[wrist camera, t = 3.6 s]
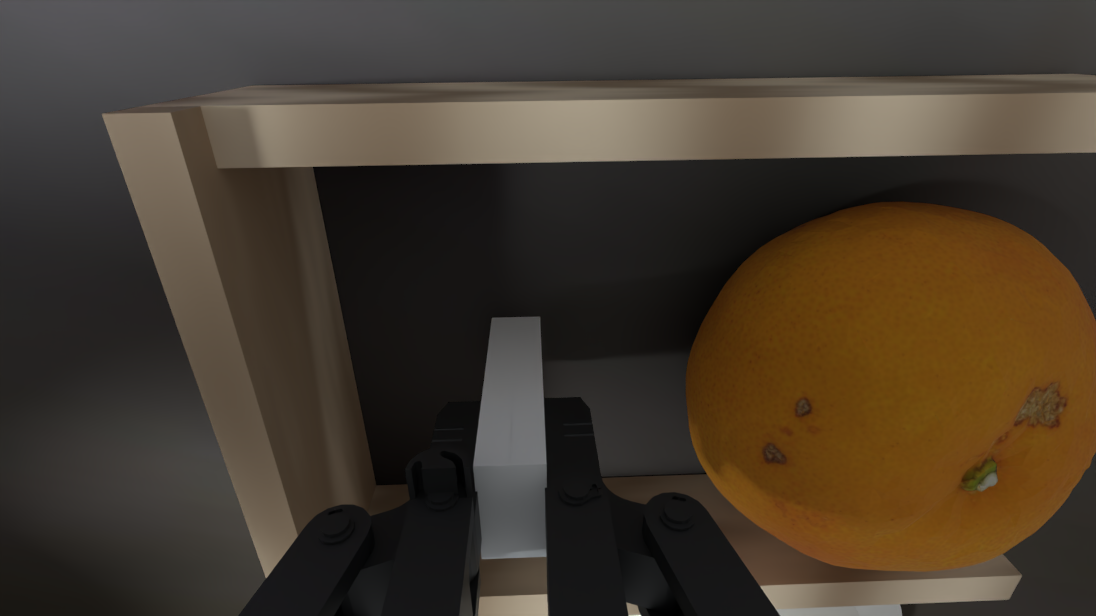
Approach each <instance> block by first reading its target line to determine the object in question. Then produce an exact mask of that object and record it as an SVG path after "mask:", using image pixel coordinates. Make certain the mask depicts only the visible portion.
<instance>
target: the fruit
mask: <svg viewBox="0 0 1096 616" xmlns="http://www.w3.org/2000/svg"><path fill="white" fill-rule="evenodd" d="M686 401H687V410H688V419H689V430H690V434H691V439H692V444H693V447H694V449H695V452H696V454H697V457H698V459H699V462H700V463H701V465H702V467H703V468H704V470H705V471H706V473H707V475H708V476H709V478H710V479H711V481H712V482H713V484H714V485H715V487H716V488H717V489H718V490H719V491H720V493H721V494H722V495H723V496H724V497H725V498H726V499H727V500H728V501H729V502H730V503H731V504H732V505H733V506H734V507H735V508H736V509H738V510H739V511H740V512H741V513H742V514H743V515H744V516H746V517H747V518H748V519H750V520H751V521H752V522H753V523H755V524H756V525H757V526H759V527H760V528H762V529H764V530H765V531H767V532H768V533H770V534H772V535H773V536H775V537H776V538H778V539H779V540H781V541H783V542H784V543H786V544H788V545H789V546H791V547H793V548H794V549H796V550H798V551H799V552H801V553H803V554H805V555H808V556H810V557H812V558H815V559H817V560H820V561H822V562H825V563H828V564H831V565H834V566H840V567H846V568H853V569H867V570H882V571H915V572H927V571H940V570H949V569H956V568H962V567H967V566H972V565H976V564H979V563H983V562H986V561H988V560H991V559H993V558H995V557H997V556H999V555H1001V554H1003V553H1005V552H1007V551H1008V550H1009V549H1011V548H1012V547H1014V546H1015V545H1017V544H1018V543H1020V542H1021V541H1023V540H1024V539H1026V538H1027V537H1029V536H1030V535H1032V534H1033V533H1035V532H1036V531H1037V530H1038V529H1039V528H1040V527H1042V526H1043V525H1044V524H1045V523H1046V522H1047V521H1048V520H1049V519H1050V518H1051V517H1052V516H1053V515H1054V513H1055V512H1056V511H1057V510H1058V509H1059V508H1060V507H1061V506H1062V504H1063V503H1064V502H1065V501H1066V499H1067V498H1068V497H1069V495H1070V493H1071V491H1072V490H1073V488H1074V487H1075V486H1076V485H1077V483H1078V482H1079V481H1080V480H1081V478H1082V476H1083V474H1084V472H1085V470H1086V469H1088V468H1089V467H1090V464H1091V461H1092V458H1093V456H1094V454H1095V453H1096V320H1095V318H1094V315H1093V313H1092V311H1091V309H1090V307H1089V305H1088V303H1087V301H1086V299H1085V297H1084V295H1083V293H1082V291H1081V289H1080V287H1079V285H1078V283H1077V282H1076V280H1075V279H1074V277H1073V276H1072V274H1071V273H1070V271H1069V270H1068V269H1067V268H1066V267H1065V266H1064V265H1063V264H1062V263H1061V262H1060V261H1059V260H1058V259H1057V258H1056V257H1055V256H1054V255H1053V254H1052V253H1051V252H1050V251H1049V250H1048V249H1047V248H1046V247H1045V246H1044V245H1043V244H1042V243H1040V242H1039V241H1038V240H1037V239H1035V238H1034V237H1033V236H1032V235H1030V234H1028V233H1026V232H1025V231H1023V230H1021V229H1019V228H1018V227H1016V226H1014V225H1012V224H1010V223H1008V222H1005V221H1003V220H1000V219H998V218H995V217H992V216H989V215H986V214H983V213H978V212H974V211H970V210H965V209H960V208H954V207H949V206H943V205H937V204H929V203H913V202H903V201H900V202H878V203H871V204H866V205H861V206H855V207H850V208H847V209H843V210H839V211H837V212H835V213H832V214H830V215H827V216H824V217H820V218H817V219H814V220H812V221H809V222H807V223H804V224H802V225H800V226H798V227H796V228H794V229H792V230H790V231H788V232H786V233H784V234H782V235H780V236H778V237H776V238H774V239H773V240H771V241H770V242H768V243H767V244H765V245H764V246H762V247H761V248H759V249H758V250H757V251H756V252H754V253H753V254H752V255H751V256H750V257H749V258H748V259H746V260H745V261H744V262H743V263H742V264H741V266H740V267H739V268H738V269H737V270H736V271H735V273H734V274H733V275H732V276H731V277H730V279H729V280H728V281H727V282H726V284H725V285H724V287H723V288H722V290H721V291H720V293H719V295H718V296H717V298H716V300H715V301H714V303H713V305H712V306H711V308H710V309H709V311H708V313H707V315H706V317H705V318H704V320H703V322H702V324H701V326H700V329H699V331H698V333H697V336H696V338H695V340H694V343H693V345H692V348H691V352H690V356H689V359H688V363H687V370H686Z"/></svg>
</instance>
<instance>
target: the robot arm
mask: <svg viewBox="0 0 1096 616" xmlns="http://www.w3.org/2000/svg"><path fill="white" fill-rule="evenodd" d="M405 473H406V479H407V485H408V491H409V497H410V500H409V501H407V502H406V503H404V504H403V505H401V506H399V507H397V508H394V509H392V510H389V511H386V512H382V513H379V514H375V515H372V516H370V515H369V514H368V512H367V511H366V510H365V509H364V508H362V507H359V506H356V505H354V504H344V505H338V506H334V507H331V508H328V509H326V510H324V511H323V512H321V513H319V514H317V515H316V516H315V517H314V518H313V519H312V520H311V521H310V522H309V523H308V524H307V525H306V526H305V527H304V529H303V530H302V531H301V533H300V534H299V535H298V537H297V538H296V539H295V541H294V542H293V543H292V545H291V546H290V547H289V549H288V550H287V551H286V553H285V554H284V555H283V557H282V558H281V559H280V561H279V562H278V563H277V565H276V566H275V567H274V569H273V570H272V571H271V573H270V574H269V576H268V577H267V578H266V580H265V581H264V582H263V584H262V585H261V586H260V588H259V589H258V590H257V592H256V593H255V594H254V596H253V597H252V598H251V600H250V601H249V602H248V604H247V605H246V606H245V608H244V609H243V610H242V612H241V613H240V614H239V616H478V610H479V598H480V586H481V578H480V567H479V564H480V553H481V557H482V559H498V558H526V557H546V559H547V602H548V616H629V615H628V609H627V603H630V604H634V605H637V606H638V610H639V612H640V614H641V616H780V615H779V613H778V612H777V610H776V609H775V607H774V606H773V604H772V603H771V602H770V600H769V599H768V597H767V596H766V594H765V593H764V591H763V590H762V589H761V587H760V586H759V584H758V583H757V581H756V580H755V578H754V577H753V576H752V574H751V573H750V571H749V570H748V568H747V567H746V566H745V564H744V563H743V561H742V560H741V558H740V557H739V555H738V554H737V553H736V551H735V550H734V548H733V547H732V545H731V544H730V542H729V541H728V540H727V538H726V537H725V535H724V534H723V532H722V531H721V529H720V528H719V527H718V525H717V524H716V522H715V521H714V519H713V518H712V516H711V515H710V514H709V512H708V511H707V509H706V508H705V507H704V506H703V505H702V504H701V503H700V502H699V501H697V500H696V499H694V498H692V497H690V496H688V495H685V494H681V493H676V492H668V493H661V494H659V495H656V496H654V497H652V498H651V499H650V500H649V501H648V503H647V504H641V503H637V502H633V501H629V500H626V499H623V498H621V497H619V496H617V495H615V494H614V493H613V492H611V491H610V490H609V489H608V488H607V487H606V485H605V484H604V482H603V480H602V477H601V474H600V468H599V462H598V456H597V449H596V443H595V437H594V431H593V425H592V419H591V413H590V408H589V407H588V406H587V405H586V404H585V402H584V401H583V400H582V399H581V398H580V397H570V398H544V395H543V372H542V349H541V326H540V317H501V318H492V320H491V328H490V336H489V344H488V352H487V360H486V368H485V376H484V384H483V392H482V400H481V401H473V402H448V403H447V404H446V406H445V407H444V408H443V409H442V410H441V411H440V412H439V414H438V416H437V420H436V424H435V431H434V433H433V437H432V442H431V445H430V449H428V450H425V451H423V452H421V453H419V454H417V455H416V456H415V457H414V458H412V459H411V460H410V461H409V463H408V465H407V467H406V468H405ZM626 602H627V603H626Z"/></svg>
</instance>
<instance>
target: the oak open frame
mask: <svg viewBox="0 0 1096 616" xmlns="http://www.w3.org/2000/svg"><path fill="white" fill-rule="evenodd" d="M102 116H103V119H104V122H105V125H106V128H107V130H108V133H109V136H110V139H111V142H112V145H113V147H114V150H115V153H116V156H117V159H118V161H119V164H120V167H121V170H122V173H123V176H124V178H125V181H126V184H127V187H128V190H129V193H130V195H131V198H132V201H133V204H134V207H135V209H136V212H137V215H138V218H139V221H140V224H141V226H142V229H143V232H144V235H145V238H146V241H147V243H148V246H149V249H150V252H151V255H152V257H153V260H154V263H155V266H156V269H157V272H158V274H159V277H160V280H161V283H162V286H163V289H164V291H165V294H166V297H167V300H168V303H169V305H170V308H171V311H172V314H173V317H174V320H175V322H176V325H177V328H178V331H179V334H180V337H181V339H182V342H183V345H184V348H185V351H186V353H187V356H188V359H189V362H190V365H191V368H192V370H193V373H194V376H195V379H196V382H197V385H198V387H199V390H200V393H201V396H202V399H203V401H204V404H205V407H206V410H207V413H208V416H209V418H210V421H211V424H212V427H213V430H214V433H215V435H216V438H217V441H218V444H219V447H220V449H221V452H222V455H223V458H224V461H225V464H226V466H227V469H228V472H229V475H230V478H231V481H232V483H233V486H234V489H235V492H236V495H237V497H238V500H239V503H240V506H241V509H242V512H243V514H244V517H245V520H246V523H247V526H248V529H249V531H250V534H251V537H252V540H253V543H254V545H255V548H256V551H257V554H258V557H259V560H260V562H261V565H262V568H263V571H264V574H265V577H266V578H267V577H268V576H269V574H270V573H271V571H272V570H273V569H274V567H275V566H276V565H277V563H278V562H279V561H280V559H281V558H282V557H283V555H284V554H285V553H286V551H287V550H288V549H289V547H290V546H291V545H292V543H293V542H294V541H295V539H296V538H297V537H298V535H299V534H300V533H301V531H302V530H303V529H304V527H305V526H306V525H307V524H308V523H309V522H310V521H311V520H312V519H313V518H314V517H315V516H316V515H317V514H319V513H321V512H323V511H324V510H326V509H328V508H331V507H334V506H338V505H344V504H354V505H356V506H359V507H362V508H364V509H365V510H366V511H367V512H368V514H369V515H370V516H372V515H375V514H379V513H382V512H386V511H389V510H392V509H394V508H397V507H399V506H401V505H403V504H404V503H406V502H407V501H409V500H410V497H409V491H408V485H407V484H405V485H376V481H375V476H374V471H373V466H372V461H371V456H370V451H369V446H368V441H367V436H366V431H365V426H364V421H363V416H362V411H361V406H360V401H359V396H358V391H357V386H356V381H355V376H354V371H353V366H352V361H351V356H350V351H349V346H348V341H347V336H346V331H345V326H344V321H343V316H342V311H341V306H340V301H339V296H338V291H337V286H336V281H335V276H334V271H333V266H332V261H331V256H330V251H329V246H328V241H327V236H326V231H325V226H324V221H323V216H322V211H321V206H320V201H319V196H318V191H317V186H316V181H315V176H314V171H313V167H323V166H378V165H433V164H487V163H542V162H597V161H652V160H707V159H762V158H816V157H871V156H926V155H981V154H1036V153H1091V152H1096V75H1083V74H1025V75H955V76H885V77H814V78H744V79H673V80H603V81H533V82H462V83H392V84H322V85H252V86H247V87H242V88H236V89H231V90H226V91H220V92H215V93H210V94H204V95H199V96H194V97H188V98H183V99H178V100H172V101H167V102H162V103H156V104H151V105H146V106H140V107H135V108H130V109H124V110H119V111H114V112H109V113H103V114H102ZM602 480H603V482H604V484H605V485H606V487H607V488H608V489H609V490H610V491H611V492H613V493H614V494H615V495H617V496H619V497H621V498H623V499H626V500H629V501H633V502H637V503H641V504H647V503H648V501H649V500H650V499H651V498H652V497H654V496H656V495H659V494H661V493H668V492H676V493H681V494H685V495H688V496H690V497H692V498H694V499H696V500H697V501H699V502H700V503H701V504H702V505H703V506H704V507H705V508H706V509H707V511H708V512H709V514H710V515H711V516H712V518H713V519H714V521H715V522H716V524H717V525H718V527H719V528H720V529H721V531H722V532H723V534H724V535H725V537H726V538H727V540H728V541H729V542H730V544H731V545H732V547H733V548H734V550H735V551H736V553H737V554H738V555H739V557H740V558H741V560H742V561H743V563H744V564H745V566H746V567H747V568H748V570H749V571H750V573H751V574H752V576H753V577H754V578H755V580H756V581H757V583H758V584H759V586H760V587H761V589H762V590H763V591H764V593H765V594H766V596H767V597H768V599H769V600H770V602H771V603H772V604H773V606H774V607H775V609H795V608H820V607H844V606H869V605H893V604H917V603H942V602H966V601H991V600H1009V599H1010V597H1011V595H1012V593H1013V591H1014V590H1015V588H1016V586H1017V584H1018V582H1019V581H1020V579H1021V577H1022V574H1021V573H1020V572H1019V571H1018V570H1017V569H1016V568H1015V567H1014V566H1013V565H1012V564H1011V562H1010V561H1009V560H1008V559H1007V558H1006V557H1005V556H1004V555H1003V554H1001V555H999V556H997V557H995V558H993V559H991V560H988V561H986V562H983V563H979V564H976V565H972V566H967V567H962V568H956V569H949V570H940V571H927V572H915V571H882V570H867V569H853V568H846V567H840V566H834V565H831V564H828V563H825V562H822V561H820V560H817V559H815V558H812V557H810V556H808V555H805V554H803V553H801V552H799V551H798V550H796V549H794V548H793V547H791V546H789V545H788V544H786V543H784V542H783V541H781V540H779V539H778V538H776V537H775V536H773V535H772V534H770V533H768V532H767V531H765V530H764V529H762V528H760V527H759V526H757V525H756V524H755V523H753V522H752V521H751V520H750V519H748V518H747V517H746V516H744V515H743V514H742V513H741V512H740V511H739V510H738V509H736V508H735V507H734V506H733V505H732V504H731V503H730V502H729V501H728V500H727V499H726V498H725V497H724V496H723V495H722V494H721V493H720V491H719V490H718V489H717V488H716V487H715V485H714V484H713V482H712V481H711V479H710V478H709V476H708V475H707V474H699V475H670V476H640V477H611V478H602ZM479 567H480V578H481V586H480V598H479V610H478V616H548V602H547V559H546V557H526V558H498V559H482V557H481V553H480V564H479ZM626 603H627V602H626ZM627 609H628V615H641V614H640V612H639V610H638V606H637V605H634V604H630V603H627Z"/></svg>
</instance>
